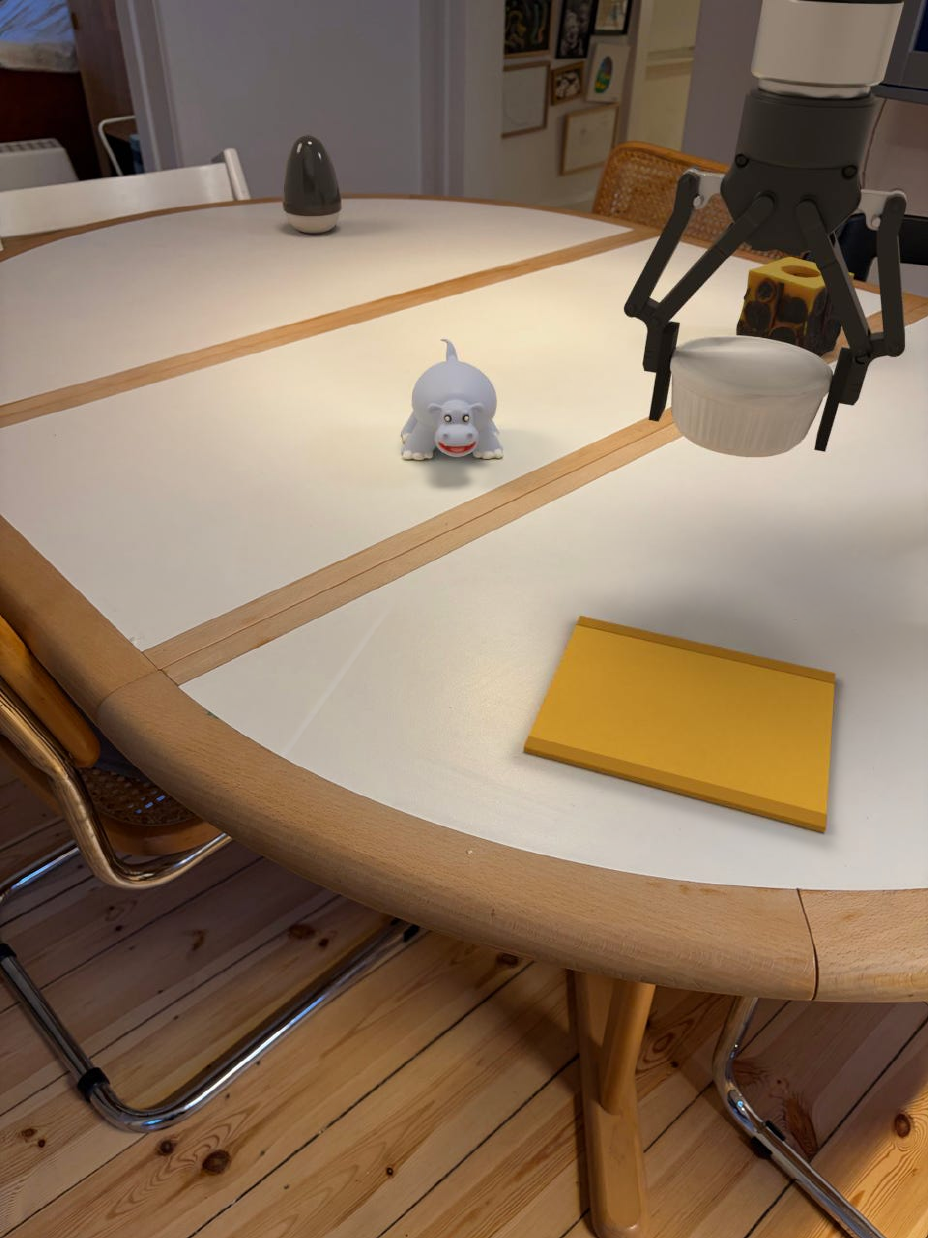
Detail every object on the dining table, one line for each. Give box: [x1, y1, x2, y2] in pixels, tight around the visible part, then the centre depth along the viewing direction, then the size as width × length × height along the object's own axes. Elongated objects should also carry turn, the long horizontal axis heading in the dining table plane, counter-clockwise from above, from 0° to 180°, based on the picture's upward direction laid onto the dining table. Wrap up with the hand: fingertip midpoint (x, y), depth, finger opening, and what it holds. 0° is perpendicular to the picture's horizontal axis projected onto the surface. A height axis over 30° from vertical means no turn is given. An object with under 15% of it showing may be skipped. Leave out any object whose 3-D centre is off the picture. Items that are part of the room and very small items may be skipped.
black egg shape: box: [282, 133, 343, 235], centre depth 161 cm, size 10×10×15 cm
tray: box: [522, 615, 837, 833], centre depth 68 cm, size 20×16×1 cm
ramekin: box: [670, 334, 834, 458], centre depth 67 cm, size 11×11×5 cm
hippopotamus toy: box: [400, 338, 504, 461], centre depth 97 cm, size 11×15×10 cm
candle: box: [735, 256, 855, 357], centre depth 122 cm, size 10×10×10 cm
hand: (737, 428), depth 68 cm, fingers closed on ramekin, 11 cm apart
